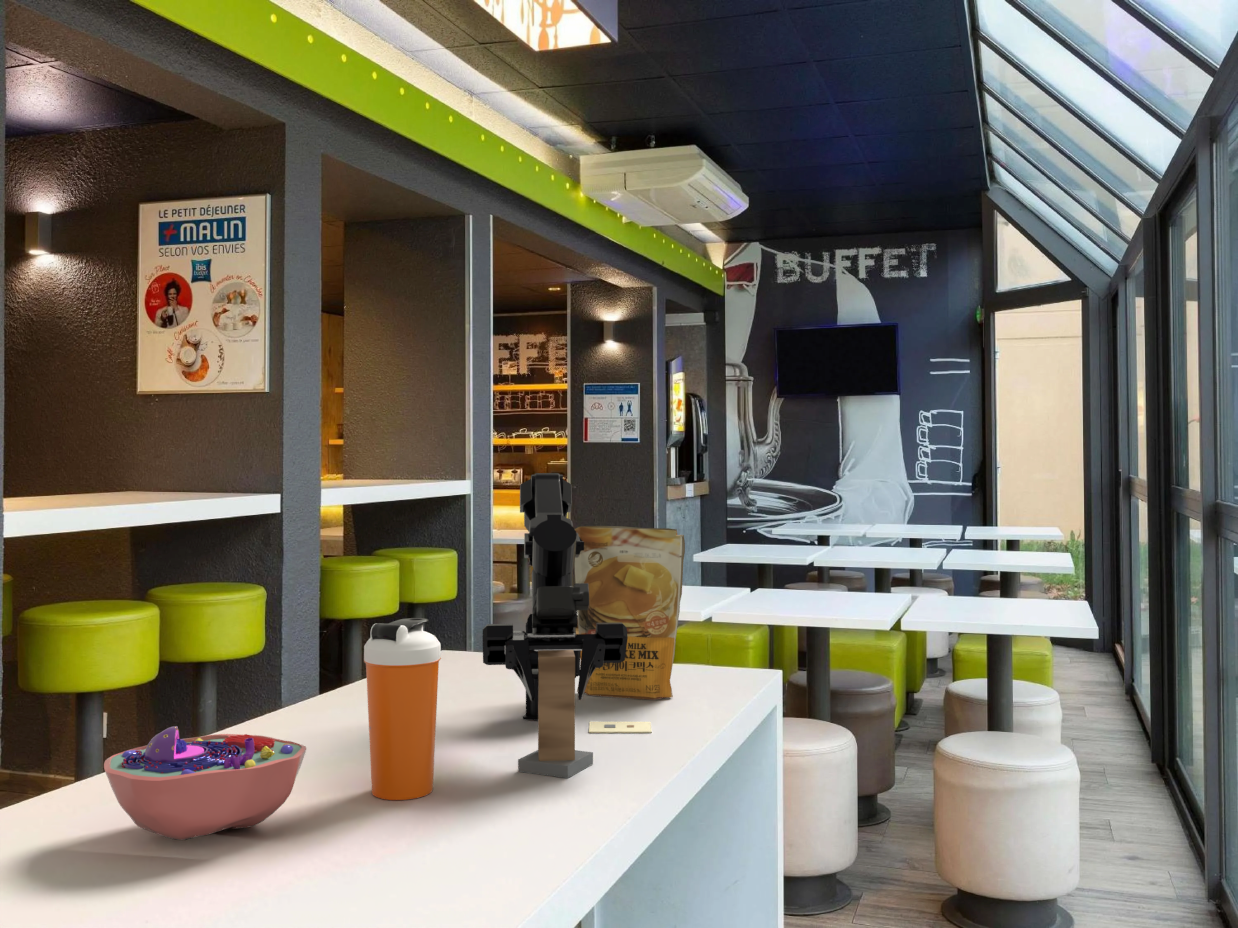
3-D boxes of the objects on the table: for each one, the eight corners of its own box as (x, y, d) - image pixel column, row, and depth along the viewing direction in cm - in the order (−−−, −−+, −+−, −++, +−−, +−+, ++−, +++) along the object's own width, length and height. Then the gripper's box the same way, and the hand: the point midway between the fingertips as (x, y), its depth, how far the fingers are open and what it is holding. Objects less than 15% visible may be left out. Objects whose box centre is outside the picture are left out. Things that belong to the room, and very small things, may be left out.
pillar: (538, 750, 142) (538, 650, 142) (573, 750, 143) (573, 649, 142) (538, 760, 138) (538, 656, 138) (574, 759, 138) (575, 656, 138)
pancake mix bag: (577, 687, 190) (577, 524, 190) (686, 693, 185) (686, 526, 185) (565, 695, 184) (565, 526, 184) (677, 702, 179) (677, 528, 178)
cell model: (307, 850, 111) (307, 737, 111) (88, 870, 105) (88, 751, 105) (305, 800, 127) (305, 701, 127) (115, 815, 121) (115, 712, 121)
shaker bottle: (454, 784, 133) (454, 618, 133) (417, 806, 124) (417, 628, 124) (389, 777, 136) (389, 614, 136) (348, 798, 127) (348, 624, 127)
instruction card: (588, 732, 158) (588, 730, 158) (589, 722, 164) (589, 720, 164) (651, 732, 158) (651, 730, 158) (650, 722, 164) (650, 720, 164)
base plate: (518, 771, 138) (518, 759, 138) (544, 757, 145) (544, 746, 145) (567, 777, 136) (567, 765, 136) (592, 763, 142) (592, 752, 142)
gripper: (482, 562, 143) (480, 663, 132) (626, 561, 145) (635, 660, 134) (484, 614, 151) (482, 713, 140) (620, 612, 153) (628, 710, 142)
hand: (556, 698), depth 139 cm, fingers open, 6 cm apart
